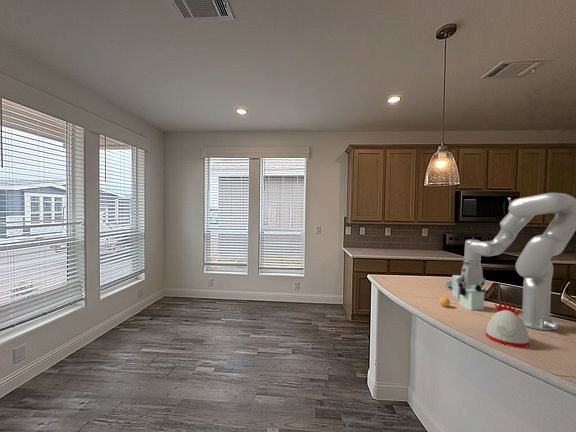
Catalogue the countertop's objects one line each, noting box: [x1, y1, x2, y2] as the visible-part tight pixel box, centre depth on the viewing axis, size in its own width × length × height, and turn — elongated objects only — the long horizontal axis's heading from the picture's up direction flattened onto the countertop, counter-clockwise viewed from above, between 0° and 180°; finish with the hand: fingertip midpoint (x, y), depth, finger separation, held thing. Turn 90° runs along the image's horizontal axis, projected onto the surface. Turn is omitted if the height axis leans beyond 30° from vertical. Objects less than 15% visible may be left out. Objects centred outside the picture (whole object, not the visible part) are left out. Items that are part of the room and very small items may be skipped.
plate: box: [444, 280, 485, 291], centre depth 194 cm, size 22×22×3 cm
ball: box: [439, 296, 451, 308], centre depth 157 cm, size 5×5×5 cm
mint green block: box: [459, 289, 485, 311], centre depth 156 cm, size 8×8×9 cm
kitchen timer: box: [485, 301, 530, 348], centre depth 117 cm, size 14×14×15 cm
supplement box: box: [451, 274, 471, 300], centre depth 174 cm, size 7×7×13 cm
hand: (470, 294), depth 156 cm, fingers open, 9 cm apart
